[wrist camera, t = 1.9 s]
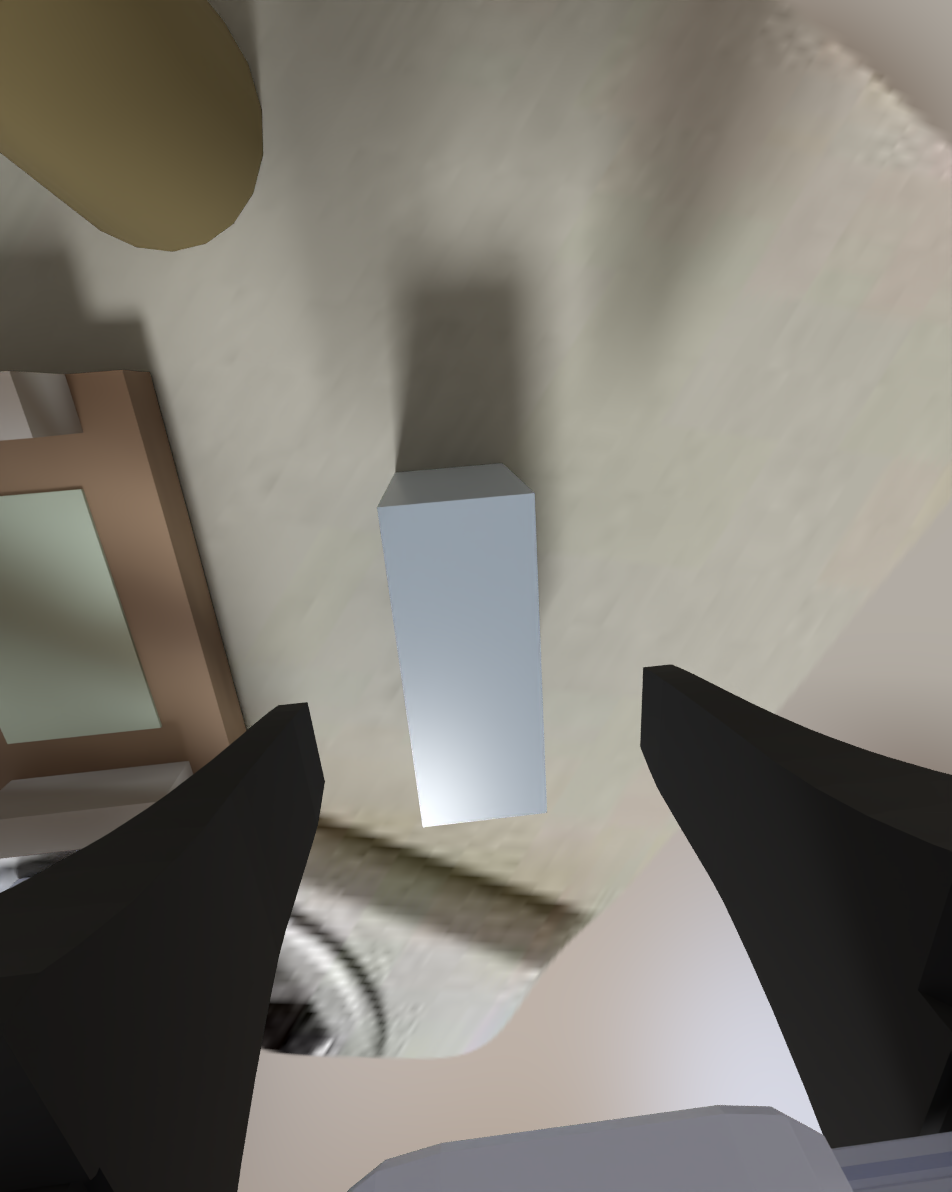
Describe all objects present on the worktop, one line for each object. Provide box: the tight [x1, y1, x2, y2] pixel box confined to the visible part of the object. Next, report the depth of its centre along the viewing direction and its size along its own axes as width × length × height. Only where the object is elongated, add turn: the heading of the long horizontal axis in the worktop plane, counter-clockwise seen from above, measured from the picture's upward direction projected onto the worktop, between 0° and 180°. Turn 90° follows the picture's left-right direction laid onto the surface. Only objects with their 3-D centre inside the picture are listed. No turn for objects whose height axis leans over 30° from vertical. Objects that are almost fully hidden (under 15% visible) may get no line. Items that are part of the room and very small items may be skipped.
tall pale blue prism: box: [377, 463, 547, 827], centre depth 16 cm, size 9×4×6 cm, turn 4°
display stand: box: [0, 370, 246, 858], centre depth 16 cm, size 14×9×4 cm, turn 4°
